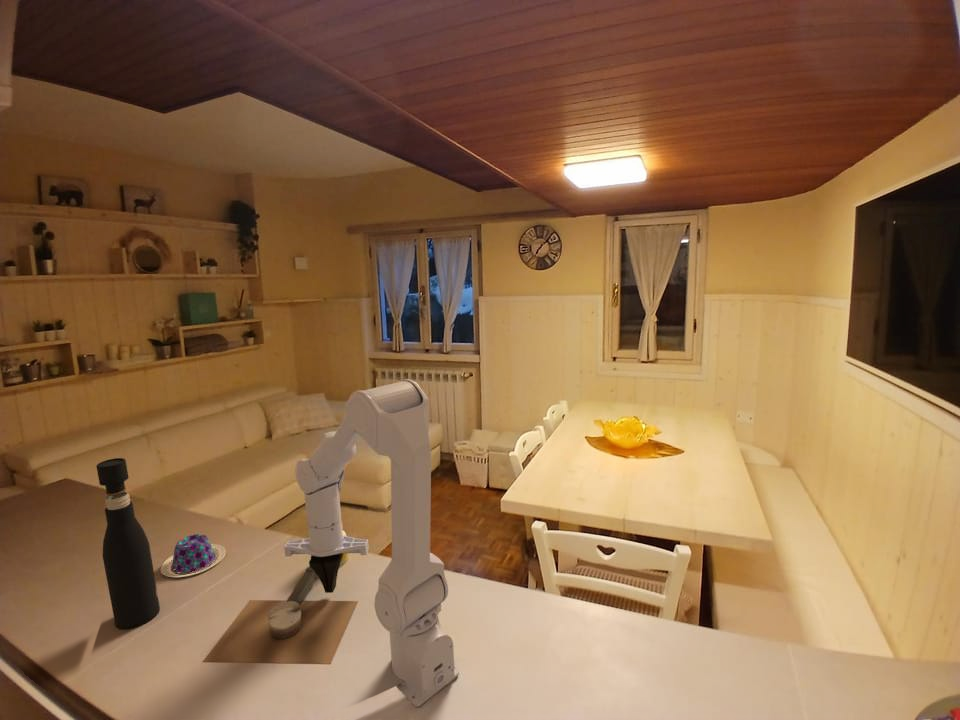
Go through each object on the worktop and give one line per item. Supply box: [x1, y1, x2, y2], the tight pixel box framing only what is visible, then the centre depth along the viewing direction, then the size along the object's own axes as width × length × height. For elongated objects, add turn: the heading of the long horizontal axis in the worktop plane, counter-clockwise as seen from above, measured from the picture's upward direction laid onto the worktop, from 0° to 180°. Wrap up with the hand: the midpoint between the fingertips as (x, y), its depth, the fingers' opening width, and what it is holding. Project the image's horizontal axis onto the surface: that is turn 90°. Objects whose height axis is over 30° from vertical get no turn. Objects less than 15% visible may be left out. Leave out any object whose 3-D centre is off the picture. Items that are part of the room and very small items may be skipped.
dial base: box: [202, 599, 359, 665], centre depth 80 cm, size 20×14×2 cm
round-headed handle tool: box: [268, 566, 319, 639], centre depth 84 cm, size 15×5×3 cm, turn 178°
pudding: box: [160, 533, 227, 578], centre depth 102 cm, size 12×12×5 cm
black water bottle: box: [96, 457, 161, 631], centre depth 81 cm, size 6×6×30 cm
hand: (330, 589), depth 87 cm, fingers closed
